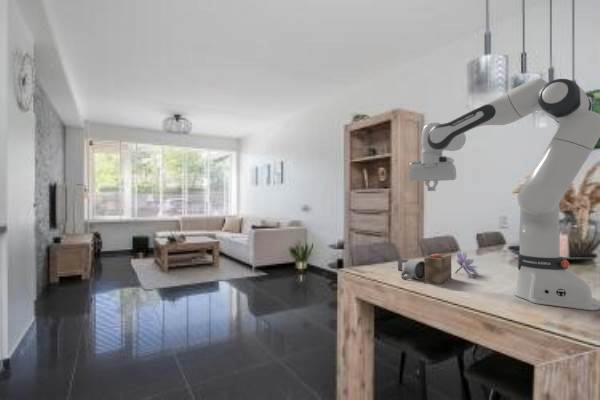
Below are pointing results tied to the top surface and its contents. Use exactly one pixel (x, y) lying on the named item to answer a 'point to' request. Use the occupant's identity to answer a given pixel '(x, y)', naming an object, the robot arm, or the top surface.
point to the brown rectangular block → (437, 269)
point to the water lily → (465, 263)
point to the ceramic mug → (414, 270)
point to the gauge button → (435, 256)
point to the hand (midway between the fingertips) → (431, 191)
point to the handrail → (401, 263)
